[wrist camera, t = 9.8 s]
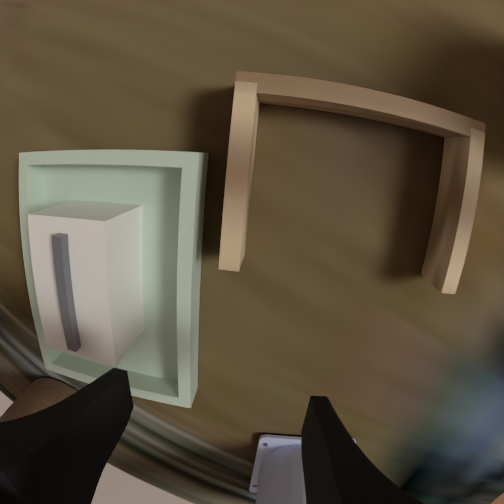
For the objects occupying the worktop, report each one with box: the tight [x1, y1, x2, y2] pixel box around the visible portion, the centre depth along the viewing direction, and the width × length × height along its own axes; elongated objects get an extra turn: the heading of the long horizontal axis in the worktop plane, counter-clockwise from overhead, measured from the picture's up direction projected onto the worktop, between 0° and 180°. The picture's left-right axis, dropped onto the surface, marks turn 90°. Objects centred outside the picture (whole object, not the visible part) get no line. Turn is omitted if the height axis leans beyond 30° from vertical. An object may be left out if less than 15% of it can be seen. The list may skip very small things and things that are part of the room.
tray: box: [19, 149, 209, 408], centre depth 19 cm, size 16×12×2 cm
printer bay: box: [219, 71, 486, 294], centre depth 16 cm, size 10×13×3 cm
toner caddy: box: [28, 200, 145, 367], centre depth 17 cm, size 8×5×5 cm, turn 174°
